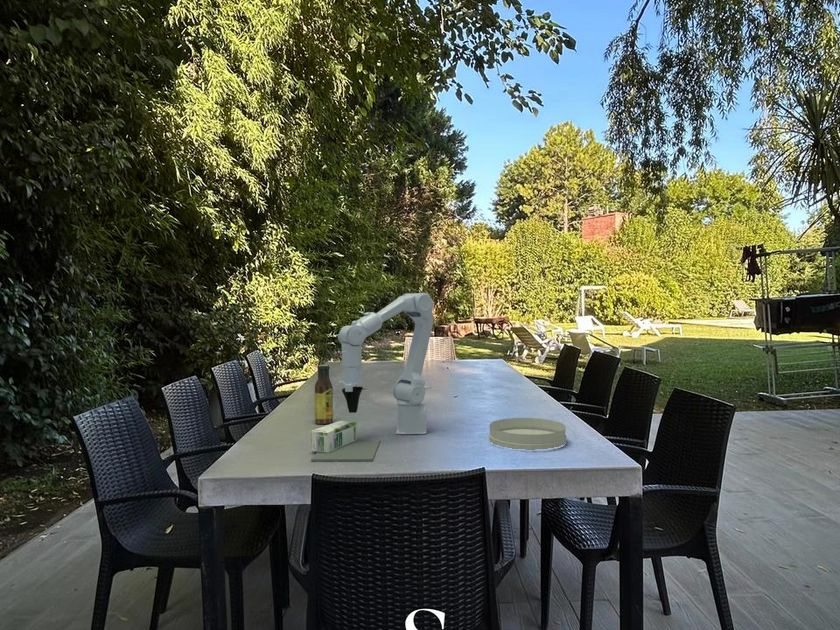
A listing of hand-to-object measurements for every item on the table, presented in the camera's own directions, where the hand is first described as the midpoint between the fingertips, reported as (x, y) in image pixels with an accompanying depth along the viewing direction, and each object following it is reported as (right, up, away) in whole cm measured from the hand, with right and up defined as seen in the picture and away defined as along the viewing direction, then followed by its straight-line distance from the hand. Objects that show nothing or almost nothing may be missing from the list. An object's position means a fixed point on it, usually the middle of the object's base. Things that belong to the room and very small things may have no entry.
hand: (353, 412), depth 161 cm
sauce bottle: (-13, -9, +27) cm, 31 cm away
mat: (0, -9, -11) cm, 14 cm away
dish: (+51, -9, -2) cm, 52 cm away
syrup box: (-1, -5, +1) cm, 6 cm away
